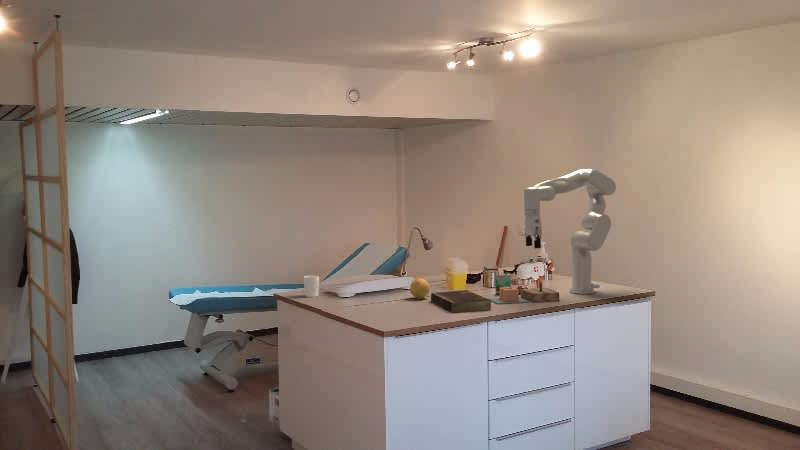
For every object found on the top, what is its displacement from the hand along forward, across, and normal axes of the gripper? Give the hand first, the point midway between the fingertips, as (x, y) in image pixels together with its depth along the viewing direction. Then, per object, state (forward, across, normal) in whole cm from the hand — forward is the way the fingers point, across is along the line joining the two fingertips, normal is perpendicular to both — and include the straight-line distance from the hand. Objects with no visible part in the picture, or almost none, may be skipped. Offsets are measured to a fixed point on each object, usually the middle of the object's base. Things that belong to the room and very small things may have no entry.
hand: (533, 247), depth 357 cm
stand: (+25, -4, 0) cm, 26 cm away
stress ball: (+23, +14, +55) cm, 62 cm away
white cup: (+21, +36, +106) cm, 114 cm away
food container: (+25, +14, +9) cm, 31 cm away
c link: (+24, -5, +16) cm, 29 cm away
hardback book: (+24, -9, +42) cm, 50 cm away
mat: (+24, -6, +16) cm, 30 cm away
